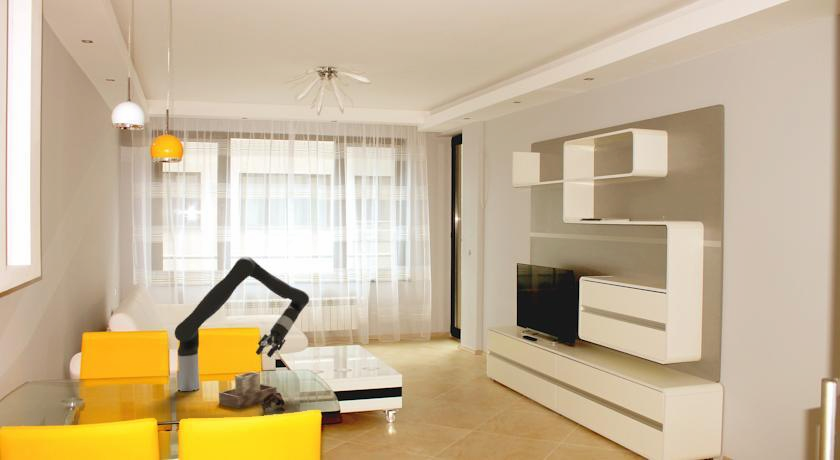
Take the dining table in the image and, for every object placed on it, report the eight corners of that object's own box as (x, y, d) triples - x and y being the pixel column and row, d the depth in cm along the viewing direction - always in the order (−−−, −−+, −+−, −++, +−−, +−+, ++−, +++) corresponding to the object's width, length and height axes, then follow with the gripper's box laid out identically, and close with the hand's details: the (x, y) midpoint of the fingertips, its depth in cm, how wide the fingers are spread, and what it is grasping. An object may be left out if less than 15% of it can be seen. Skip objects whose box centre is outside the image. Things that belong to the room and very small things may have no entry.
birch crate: (243, 402, 285) (242, 377, 285) (235, 400, 289) (234, 375, 289) (260, 397, 292) (259, 373, 292) (252, 395, 296) (251, 371, 296)
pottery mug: (285, 413, 270) (274, 398, 268) (266, 423, 271) (255, 408, 270) (291, 398, 282) (281, 383, 280) (273, 408, 283) (263, 393, 281)
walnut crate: (239, 408, 278) (239, 397, 278) (219, 403, 287) (218, 392, 287) (276, 397, 293) (276, 386, 293) (256, 393, 303) (256, 382, 303)
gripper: (268, 321, 313) (248, 348, 304) (287, 323, 304) (267, 352, 295) (277, 330, 317) (258, 357, 308) (296, 333, 308) (277, 361, 299)
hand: (262, 355), depth 302 cm, fingers open, 8 cm apart
